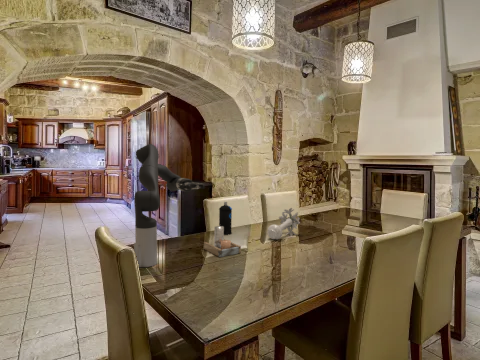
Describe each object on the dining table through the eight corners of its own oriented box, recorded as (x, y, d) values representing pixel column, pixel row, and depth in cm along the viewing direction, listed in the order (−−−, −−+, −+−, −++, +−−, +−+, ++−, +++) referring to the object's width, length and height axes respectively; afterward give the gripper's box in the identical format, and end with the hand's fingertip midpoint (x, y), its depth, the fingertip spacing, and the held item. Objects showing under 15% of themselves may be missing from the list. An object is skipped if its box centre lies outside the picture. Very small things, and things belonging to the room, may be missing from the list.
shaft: (217, 251, 164) (217, 228, 163) (212, 249, 168) (212, 226, 167) (225, 249, 167) (225, 227, 166) (220, 247, 171) (220, 225, 170)
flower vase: (279, 252, 186) (302, 234, 203) (280, 225, 179) (303, 208, 196) (262, 244, 194) (285, 227, 211) (262, 217, 187) (286, 202, 204)
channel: (219, 257, 155) (219, 250, 155) (204, 248, 168) (204, 242, 168) (240, 253, 162) (240, 246, 162) (223, 245, 175) (224, 239, 175)
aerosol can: (220, 235, 197) (220, 203, 195) (217, 232, 205) (217, 201, 203) (233, 234, 199) (233, 202, 197) (230, 231, 207) (230, 200, 205)
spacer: (224, 254, 159) (224, 243, 158) (218, 252, 163) (219, 240, 163) (232, 253, 162) (232, 241, 161) (227, 250, 166) (227, 239, 165)
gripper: (173, 178, 183) (184, 180, 170) (195, 178, 191) (208, 179, 178) (173, 191, 184) (184, 194, 171) (195, 190, 192) (208, 193, 178)
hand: (196, 187), depth 174 cm, fingers open, 8 cm apart
